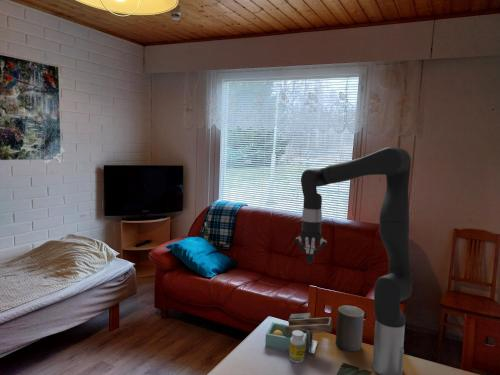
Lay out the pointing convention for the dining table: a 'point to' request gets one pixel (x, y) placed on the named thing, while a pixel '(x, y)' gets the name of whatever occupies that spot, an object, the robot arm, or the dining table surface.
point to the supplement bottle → (297, 346)
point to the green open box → (278, 338)
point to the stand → (310, 344)
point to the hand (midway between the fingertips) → (309, 262)
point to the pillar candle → (349, 328)
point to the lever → (308, 324)
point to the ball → (278, 333)
